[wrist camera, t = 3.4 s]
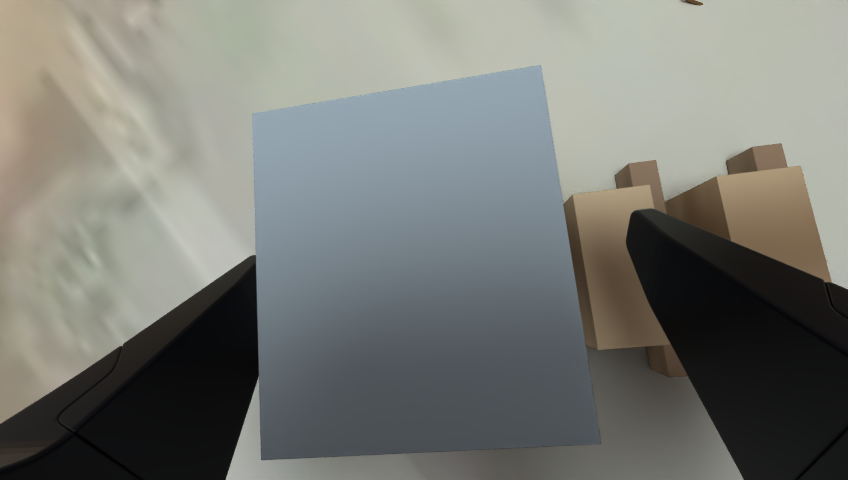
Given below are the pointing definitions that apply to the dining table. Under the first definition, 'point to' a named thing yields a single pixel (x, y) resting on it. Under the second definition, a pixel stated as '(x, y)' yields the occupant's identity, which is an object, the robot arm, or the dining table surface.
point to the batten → (417, 275)
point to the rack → (647, 174)
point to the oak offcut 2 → (758, 215)
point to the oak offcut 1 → (610, 269)
